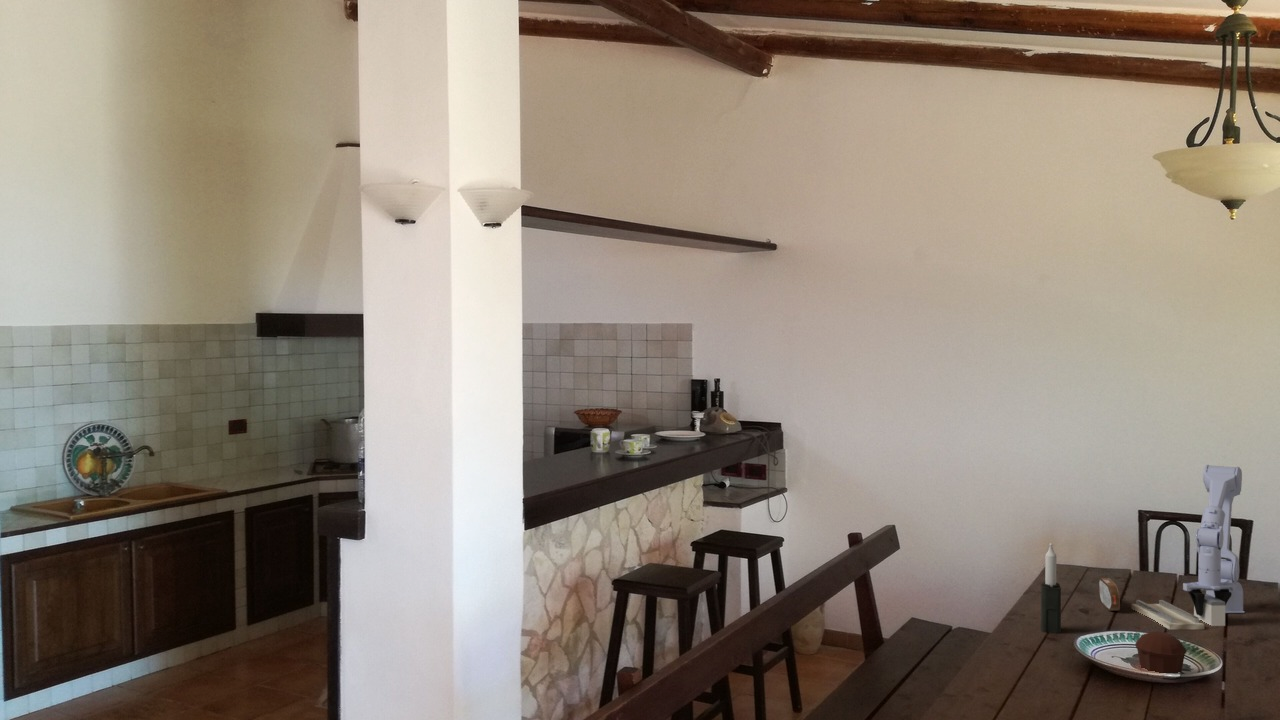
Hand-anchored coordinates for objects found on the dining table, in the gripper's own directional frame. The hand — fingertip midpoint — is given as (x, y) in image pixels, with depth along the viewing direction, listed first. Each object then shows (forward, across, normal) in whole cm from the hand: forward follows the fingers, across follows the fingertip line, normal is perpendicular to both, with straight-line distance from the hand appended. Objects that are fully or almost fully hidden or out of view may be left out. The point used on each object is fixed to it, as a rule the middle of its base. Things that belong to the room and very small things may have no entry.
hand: (1209, 614), depth 292 cm
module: (+2, 0, 0) cm, 2 cm away
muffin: (+2, -38, -45) cm, 59 cm away
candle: (+2, -50, -8) cm, 51 cm away
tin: (+2, -22, +16) cm, 27 cm away
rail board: (+2, -11, +3) cm, 12 cm away
